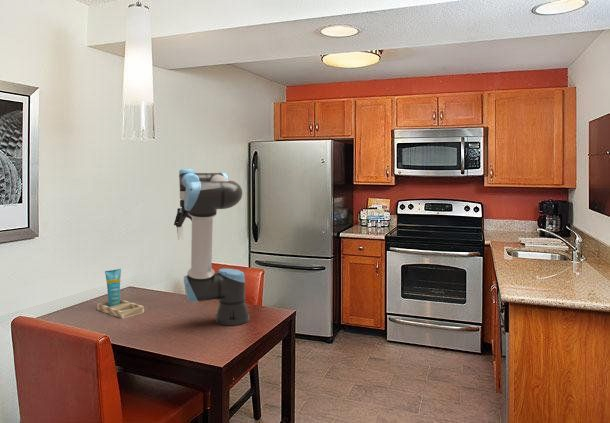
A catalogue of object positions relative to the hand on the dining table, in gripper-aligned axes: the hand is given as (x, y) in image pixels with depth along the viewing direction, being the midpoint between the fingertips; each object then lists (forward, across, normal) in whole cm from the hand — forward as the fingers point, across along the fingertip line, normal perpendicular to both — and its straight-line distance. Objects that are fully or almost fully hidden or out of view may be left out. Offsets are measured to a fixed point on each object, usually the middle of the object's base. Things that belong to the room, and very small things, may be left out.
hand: (188, 240), depth 240 cm
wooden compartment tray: (+32, +13, +32) cm, 47 cm away
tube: (+31, +18, +32) cm, 48 cm away
